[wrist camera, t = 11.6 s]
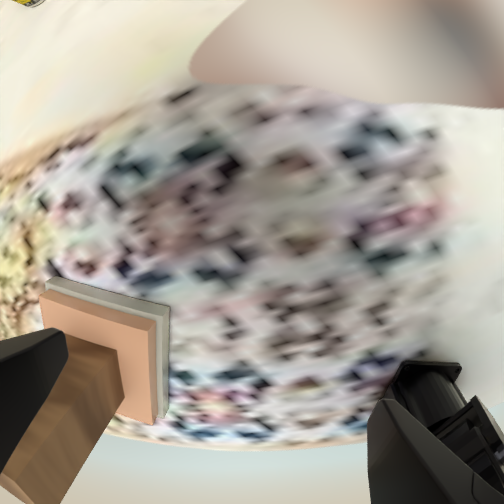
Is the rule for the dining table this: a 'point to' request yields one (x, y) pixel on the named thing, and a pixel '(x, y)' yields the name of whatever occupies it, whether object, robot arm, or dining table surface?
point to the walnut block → (66, 425)
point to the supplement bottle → (29, 2)
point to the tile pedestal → (117, 339)
